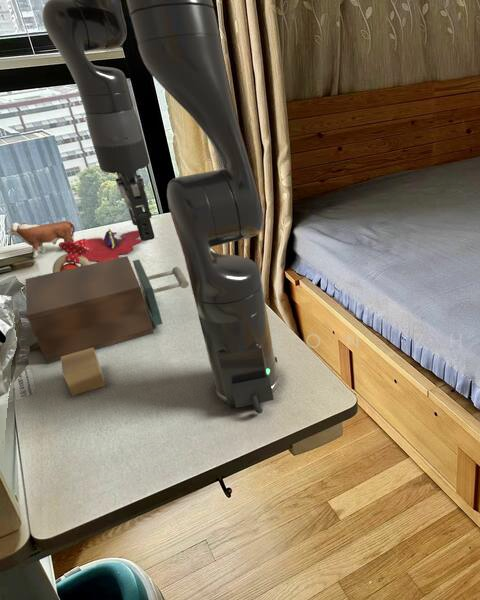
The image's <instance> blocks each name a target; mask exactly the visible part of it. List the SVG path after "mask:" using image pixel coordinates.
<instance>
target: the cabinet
mask: <svg viewBox="0 0 480 600" xmlns="http://www.w3.org/2000/svg"><path fill="white" fill-rule="evenodd" d="M80 266H81V265H80ZM25 312H26V315H25V316H26V318H27V320H28V322H29V325H30V327H31V330H32V332H33V334H34V337H35V339H36V341H37V344H38V346H39V349H40V350H41V353H42V355H43V358H44V359H45V362H46V364H51V363H54V362H58V361H61V357H62V356H65V355H69V354H72V353H76V352H79V351H83V350H86V349H90V348H94V350H95V351H96V350H99V349H103V348H106V347H110V346H112V345H113V346H114V345H116V344H120V343H124V342H126V341H130V340H134V339H137V338H140V337H144V336H147V335H151V334H154V333H155V330H154V328H153V324H152V321H151V318H150V314H149V310H148V306H147V304H146V301H145V299H144V296H143V294H142V290H141V287H140V284H139V280H138V277H137V274H136V272H135V271H134V268H133V266H132V264H131V261H130V258H129V257H128V255H125V256H120V257H119V258H116V259H112V260H107V261H103V262H93V263H91V264H90V265H85V266H81V267H76V268H72V269H68V270H63V271H59V272H54V273H53V272H51V273H46V274H42V275H37V276H33V277H28V278H25Z"/></svg>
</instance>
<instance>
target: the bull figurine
mask: <svg viewBox="0 0 480 600" xmlns="http://www.w3.org/2000/svg"><path fill="white" fill-rule="evenodd" d="M75 228H76V227H75V225H74V224H73V223H72V222H71V221H68V220H63V221H57V222H52V223H45V224H27V223H26V222H22V223H21V224H20V223H19V222H13V223H12V225H11V226H10V227H9V230H10V231H9V232H8V233H9V236H16V237H17V238H19V239H21V240H22V241H23V242H24V243H25V244H27V245H29V246H31V247H32V250H33V255H32V259H37V258H38V257H39V253H38V251H39V248H40V254H44V253H45V252H46V251H47V249H46V248H44V245H43V244H53V245H56V244H57V242H58V241H59V240H63V242H68V241H74V242H75V234H74V233H75V231H76V229H75ZM60 249H61V250H62V251H64V250H63V249H62V248H61V247H60Z"/></svg>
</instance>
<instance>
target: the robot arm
mask: <svg viewBox="0 0 480 600" xmlns="http://www.w3.org/2000/svg"><path fill="white" fill-rule="evenodd" d="M125 1H126V6H127V11H128V15H129V18H130V22H131V25H132V29H133V33H134V37H135V40H136V44H137V48H138V52H139V55H140V58H141V60H142V62H143V64H144V65H145V67H146V69H147V70H148V72H149V73H150V75H151V76H152V77H153V78H154V79H155V80H156V81H157V82H158V84H159V85H160V86H161V87H162V88H163V89H164V90H165V91H166V92H167V93H168V94H169V95H170V96H171V97H172V99H174V100H175V102H177V103H178V104H179V106H181V108H183V110H185V111H186V112H187V114H188V115H189V116H190V117H191V119H193V120H194V122H195V123H196V124H197V126H199V127H200V129H201V130H202V132H203V133H204V134H205V136H206V137H207V139H208V140H209V142H210V143H211V146H212V147H213V150H214V151H215V154H216V156H217V158H218V161H219V164H220V167H221V169H216V170H210V171H204V172H199V173H192V174H187V175H182V176H178V177H175V178H172V179H171V180H170V181H169V182H168V184H167V188H166V198H167V204H168V205H167V206H168V209H169V213H170V216H171V221H172V224H173V226H174V229H175V233H176V235H177V238H178V241H179V244H180V248H181V251H182V254H183V259H184V262H185V267H186V270H187V274H188V275H187V276H188V279H189V282H190V287H191V291H192V295H193V299H194V303H195V307H196V310H197V315H198V320H199V323H200V327H201V328H200V329H201V332H202V335H203V336H202V337H203V340H204V344H205V348H206V349H205V350H206V352H207V357H208V361H209V365H210V369H211V374H212V377H213V381H214V387H215V392H216V395H217V397H218V398H219V400H221V402H222V401H223V402H224V403H225V404H227V407H228V408H229V409H231V408H237V409H238V408H241V407H247V406H253V409H254V412H255V413H257V414H258V415H259V414H262V413H263V409H262V407H261V406H260V404H261V403H265V402H270V401H274V400H275V399H274V392H275V391H276V389H277V388H278V386H279V383H280V376H279V372H278V369H277V363H278V357H277V356H275V352H274V346H273V339H272V334H271V327H270V323H269V317H268V311H267V305H266V304H267V303H266V299H265V298H266V297H265V292H264V285H263V280H262V274H261V270H260V267H259V265H258V264H257V263H256V261H254V260H253V259H251V258H248V257H245V256H241V255H235V254H225V253H219V252H215V251H212V250H211V248H212V247H213V248H214V247H216V246H221V245H225V244H229V243H233V242H237V241H242V240H246V239H250V238H254V237H256V236H258V235H259V234H260V233H261V232H262V230H263V225H264V214H263V213H264V212H263V206H262V201H261V195H260V192H259V189H258V186H257V182H256V178H255V175H254V172H253V167H252V164H251V161H250V158H249V155H248V150H247V147H246V145H245V141H244V137H243V134H242V131H241V127H240V123H239V119H238V116H237V112H236V108H235V107H236V106H235V103H234V99H233V94H232V89H231V86H230V84H231V83H230V80H229V75H228V70H227V65H226V59H225V56H224V49H223V44H222V39H221V35H220V30H219V25H218V20H217V15H216V11H215V7H214V3H213V0H125ZM42 23H43V26H44V29H45V32H46V33H47V35H48V37H49V38H50V40H51V42H52V43H53V45H54V47H55V48H56V50H57V51H58V53H59V55H60V56H61V58H62V59H63V61H64V63H65V65H66V66H67V68H68V70H69V72H70V75H71V77H72V78H73V80H74V82H75V84H76V87H77V90H78V93H79V97H80V100H81V103H82V106H83V110H84V114H85V118H86V124H87V125H86V126H87V129H88V133H89V136H90V140H91V142H92V146H93V150H94V153H95V156H96V159H97V162H98V166H99V169H100V170H101V171H102V172H103V173H108V174H116V176H117V178H116V177H115V183H116V186H117V189H119V193H120V196H121V198H122V199H124V204H125V206H126V208H127V209H128V213H129V216H130V219H131V223H132V225H133V226H135V227H136V228H137V231H138V232H139V235H140V236H139V239H141V240H142V242H146V241H151V240H154V239H155V232H154V229H153V226H152V225H153V224H152V222H151V218H152V217H153V214H152V212H151V210H150V206H149V203H150V202H149V198H148V195H147V192H146V184H145V180H144V178H142V175H141V174H138V172H137V171H138V170H143V169H145V168H146V167H147V166H149V164H150V159H149V155H148V152H147V148H146V147H147V146H146V144H145V140H144V135H143V132H142V127H141V124H140V121H139V118H138V115H137V113H136V110H135V107H134V104H133V99H132V96H131V91H130V87H129V84H128V81H127V78H126V75H125V73H124V72H123V71H122V70H120V69H118V68H115V67H108V66H99V65H96V64H95V65H94V64H93V63H92V62H91V61H90V60H89V59H88V57H87V55H86V53H87V52H98V51H99V52H100V51H111V50H116V49H118V48H120V47H121V46H122V45H123V44H124V42H125V41H126V40H127V35H128V31H127V24H126V21H125V16H124V13H123V8H122V2H121V0H47V1H46V2H45V4H44V6H43V8H42Z"/></svg>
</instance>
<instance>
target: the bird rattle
mask: <svg viewBox="0 0 480 600" xmlns="http://www.w3.org/2000/svg"><path fill="white" fill-rule="evenodd" d="M86 240H87V239H86V238H82V239H78V240H74V241H68V242H64V241H60V242H59V243H58V247H59V248H60V249H61V248H62V249H63V250H62V249H61V250H62V251H64V252H66V254H65V253H64V254H63V255H61V256H59V257H57V259H56V260H55V261H54V262H53V265H52V273H54V272H59V271H63V270H68V269H72V268H76V267H81V266H85V265H90V264H92V262H91V261H90V260H88V259H87V258H85V257H84V256H82V254H86V253H89V252H90V250H89V248H88V247H87V244H86Z"/></svg>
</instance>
